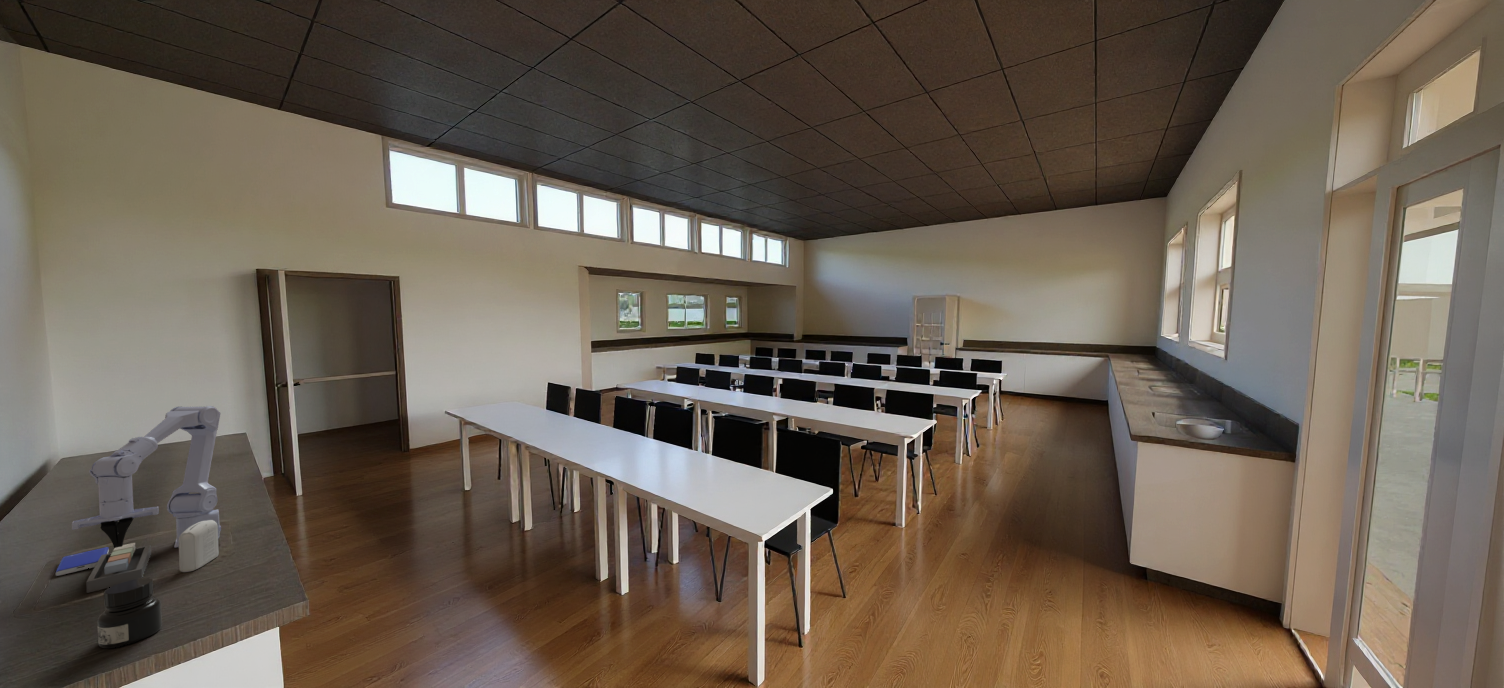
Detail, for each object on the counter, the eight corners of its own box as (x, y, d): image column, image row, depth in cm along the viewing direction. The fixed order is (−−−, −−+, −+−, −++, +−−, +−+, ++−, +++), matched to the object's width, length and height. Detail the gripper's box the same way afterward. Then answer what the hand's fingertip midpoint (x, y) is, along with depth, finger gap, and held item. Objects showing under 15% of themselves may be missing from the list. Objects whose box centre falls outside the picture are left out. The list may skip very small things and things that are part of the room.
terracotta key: (131, 561, 137) (130, 552, 137) (129, 566, 135) (128, 557, 134) (110, 566, 134) (109, 557, 134) (107, 571, 132) (107, 561, 132)
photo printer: (203, 557, 145) (201, 517, 145) (221, 555, 147) (220, 515, 146) (176, 574, 136) (174, 531, 135) (196, 571, 137) (194, 529, 136)
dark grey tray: (151, 554, 147) (150, 544, 146) (142, 579, 132) (141, 569, 132) (102, 565, 140) (101, 555, 140) (86, 592, 126) (86, 581, 126)
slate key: (128, 567, 134) (128, 558, 134) (126, 572, 131) (126, 562, 131) (107, 572, 131) (106, 562, 131) (104, 577, 129) (104, 567, 129)
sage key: (133, 556, 140) (132, 547, 140) (131, 560, 138) (131, 551, 138) (113, 560, 138) (112, 551, 137) (110, 565, 135) (110, 556, 135)
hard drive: (62, 556, 141) (55, 571, 133) (108, 546, 147) (104, 559, 139) (62, 561, 141) (55, 576, 133) (109, 551, 147) (104, 564, 140)
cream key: (135, 551, 143) (135, 542, 143) (133, 555, 141) (133, 546, 141) (115, 555, 141) (115, 546, 140) (113, 559, 138) (113, 550, 138)
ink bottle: (90, 643, 106) (87, 591, 106) (150, 620, 115) (148, 572, 114) (109, 654, 103) (107, 600, 102) (170, 630, 111) (168, 580, 111)
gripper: (68, 509, 126) (70, 560, 126) (155, 495, 136) (158, 542, 137) (74, 502, 130) (76, 551, 131) (158, 489, 141) (160, 534, 142)
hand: (118, 546), depth 134 cm, fingers closed
